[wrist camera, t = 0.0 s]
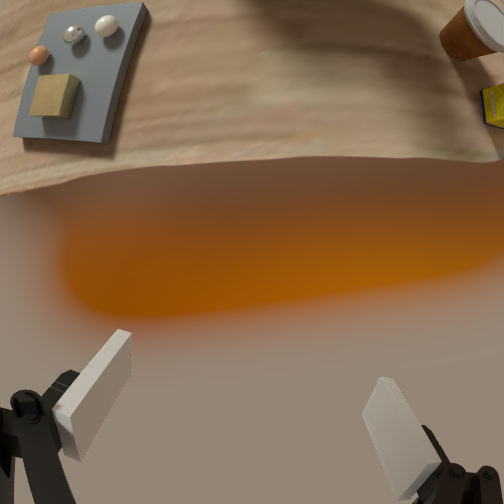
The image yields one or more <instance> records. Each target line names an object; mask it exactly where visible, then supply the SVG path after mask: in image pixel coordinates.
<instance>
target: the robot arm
mask: <svg viewBox="0 0 504 504" xmlns="http://www.w3.org/2000/svg"><path fill="white" fill-rule="evenodd" d="M131 336H132V333H129V332H126V331H122V330H119V329H118V330H117V331H116V332H115V333H114V334H113V336H112V337H111V338H110V339H109V340H108V341H107V343H106V344H105V345H104V346H103V347H102V348H101V350H100V351H99V352H98V353H97V354H96V356H95V357H94V358H93V359H92V360H91V361H90V363H89V364H88V365H87V366H86V368H85V369H84V370H83V371H82V372H81V373H78V372H75V371H73V370H69V371H66V372H64V373H62V374H61V375H60V376H59V377H58V378H57V379H56V380H55V382H54V383H53V384H52V385H51V387H49V388H48V389H47V391H46V392H45V393H44V394H43V395H42V396H40V395H39V394H38V393H36V392H34V391H32V390H20V391H18V392H16V393H14V394H13V395H12V397H11V400H10V403H11V406H12V410H9V409H5V408H1V407H0V504H14V472H15V457H19V458H23V462H24V467H25V471H26V475H27V478H28V482H29V486H30V490H31V493H32V496H33V499H34V502H35V504H76V502H75V499H74V497H73V494H72V492H71V489H70V487H69V484H68V481H67V479H66V476H65V473H64V471H63V468H62V465H61V462H60V459H59V456H58V452H59V451H60V449H61V447H62V449H63V452H64V455H66V456H68V457H70V458H72V459H75V460H77V461H79V462H81V461H82V459H83V457H84V455H85V453H86V452H87V450H88V448H89V446H90V444H91V443H92V441H93V439H94V437H95V436H96V434H97V432H98V430H99V429H100V427H101V425H102V423H103V422H104V420H105V418H106V416H107V415H108V413H109V411H110V410H111V408H112V406H113V404H114V403H115V401H116V399H117V398H118V396H119V394H120V392H121V391H122V389H123V387H124V386H125V384H126V382H127V381H128V379H129V377H130V369H131V368H130V367H131V363H130V362H131ZM362 416H363V418H364V421H365V424H366V426H367V428H368V431H369V433H370V436H371V438H372V441H373V443H374V446H375V448H376V451H377V454H378V456H379V459H380V461H381V464H382V466H383V469H384V471H385V474H386V477H387V479H388V482H389V485H390V487H391V490H392V492H393V495H394V497H395V501H401V500H407V499H410V498H411V497H412V496H413V495H414V494H415V493H416V491H417V494H418V496H419V497H418V498H417V499H416V500H415V501H414V502H413V503H412V504H503V499H502V492H501V486H500V479H499V475H498V472H497V471H496V470H495V469H494V468H493V467H490V466H483V467H481V468H480V469H479V470H478V472H477V473H470V472H466V471H465V469H464V468H463V467H462V466H460V465H459V464H455V463H450V461H449V459H448V458H447V456H446V454H445V453H444V451H443V449H442V448H441V446H440V445H439V443H438V441H437V440H436V438H435V436H434V434H433V433H432V431H431V430H430V429H428V428H427V427H426V426H425V425H420V423H419V421H418V420H417V418H416V416H415V415H414V413H413V412H412V410H411V408H410V407H409V405H408V403H407V401H406V400H405V398H404V397H403V395H402V394H401V392H400V390H399V389H398V387H397V385H396V384H395V382H394V380H393V379H392V378H391V377H380V378H379V380H378V382H377V384H376V386H375V388H374V391H373V393H372V395H371V397H370V399H369V401H368V403H367V405H366V407H365V409H364V411H363V412H362Z"/></svg>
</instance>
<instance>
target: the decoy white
mask: <svg viewBox="0 0 504 504" xmlns="http://www.w3.org/2000/svg"><path fill="white" fill-rule="evenodd" d="M117 28H118V20H117V19H116V18H115V17H114V16H111V15H106V16H103V17H101V18H100V19H99V20H98V21H97V22H96V24H95V32H96V33H97V34H98V35H99V36H101V37H108V36H111V35H112V34H114V33H115V32H116V30H117Z"/></svg>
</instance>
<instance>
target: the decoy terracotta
mask: <svg viewBox="0 0 504 504" xmlns="http://www.w3.org/2000/svg"><path fill="white" fill-rule="evenodd" d="M48 58H49V50H48V48H47V47H45V46H37V47H35V48H34V49H33V50H32V51H31V53H30V56H29V60H30V63H31V64H32V65H34V66H40V65H42V64H44V63H45V62H46V61H47V60H48Z"/></svg>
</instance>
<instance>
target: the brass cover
mask: <svg viewBox="0 0 504 504" xmlns="http://www.w3.org/2000/svg"><path fill="white" fill-rule="evenodd" d="M79 81H80V79H79V78H77V77H75V76H73V75H71V74H55V75H43V76H39V78H38V81H37V85H36V88H35V92H34V96H33V99H32V103H31V108H30V112H29V116H33V117H38V118H65V119H70V116H71V112H72V108H73V103H74V100H75V96H76V92H77V88H78V85H79Z"/></svg>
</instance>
